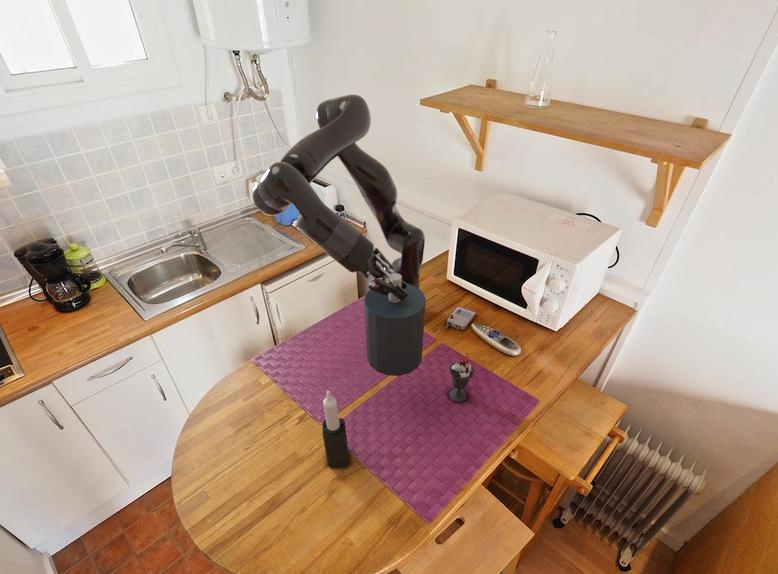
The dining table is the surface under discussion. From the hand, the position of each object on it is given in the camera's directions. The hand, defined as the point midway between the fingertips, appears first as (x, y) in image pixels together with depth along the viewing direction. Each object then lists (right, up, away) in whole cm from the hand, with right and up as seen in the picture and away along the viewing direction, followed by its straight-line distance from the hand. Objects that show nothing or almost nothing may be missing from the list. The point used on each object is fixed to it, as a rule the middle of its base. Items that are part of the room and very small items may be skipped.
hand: (404, 292), depth 95 cm
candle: (-16, -40, +12) cm, 45 cm away
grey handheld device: (+22, -4, +52) cm, 57 cm away
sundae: (+17, -26, +27) cm, 41 cm away
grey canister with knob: (-2, -15, +13) cm, 20 cm away
